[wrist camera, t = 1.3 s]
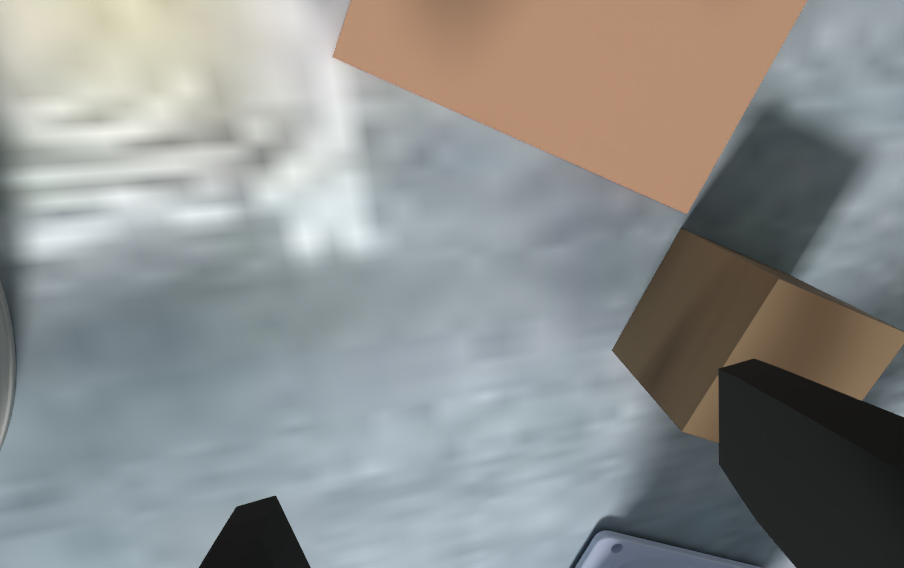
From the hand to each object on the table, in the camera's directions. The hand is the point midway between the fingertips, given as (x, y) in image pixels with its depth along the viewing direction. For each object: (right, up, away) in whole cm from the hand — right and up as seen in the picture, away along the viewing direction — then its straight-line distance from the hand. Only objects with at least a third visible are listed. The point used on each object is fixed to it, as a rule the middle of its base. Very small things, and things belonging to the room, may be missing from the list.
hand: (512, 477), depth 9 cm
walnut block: (+8, +2, +12) cm, 14 cm away
